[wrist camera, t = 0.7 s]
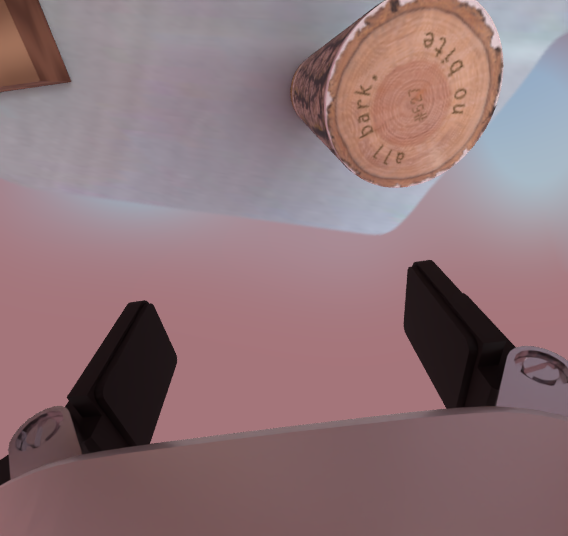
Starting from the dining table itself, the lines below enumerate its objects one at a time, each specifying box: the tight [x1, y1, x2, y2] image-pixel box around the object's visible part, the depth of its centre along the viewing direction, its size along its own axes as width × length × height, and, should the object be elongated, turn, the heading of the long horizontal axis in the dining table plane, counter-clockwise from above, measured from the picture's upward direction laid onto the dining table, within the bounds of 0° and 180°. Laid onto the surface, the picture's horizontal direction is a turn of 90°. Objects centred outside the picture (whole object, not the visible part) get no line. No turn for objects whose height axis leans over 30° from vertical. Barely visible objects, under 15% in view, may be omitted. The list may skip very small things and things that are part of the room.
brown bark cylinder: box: [291, 0, 503, 188], centre depth 23 cm, size 7×7×25 cm
